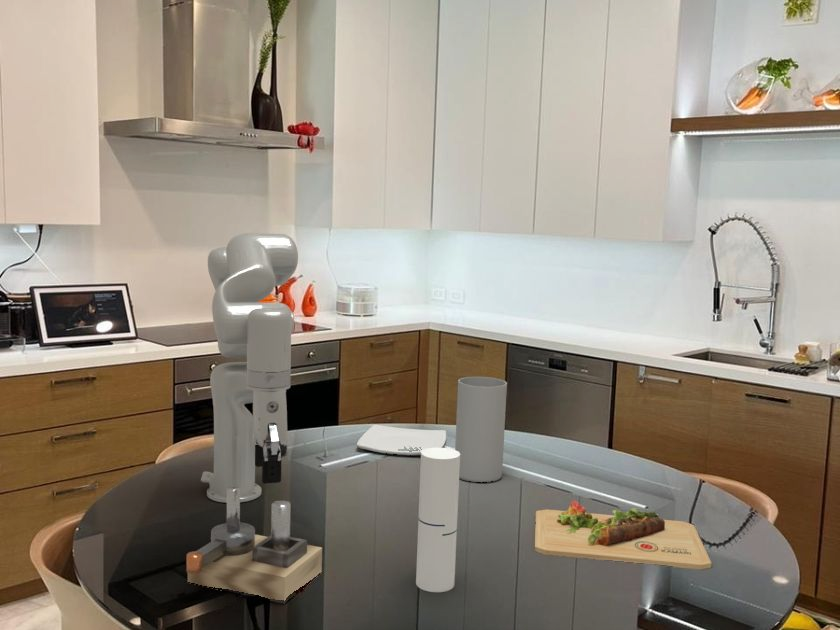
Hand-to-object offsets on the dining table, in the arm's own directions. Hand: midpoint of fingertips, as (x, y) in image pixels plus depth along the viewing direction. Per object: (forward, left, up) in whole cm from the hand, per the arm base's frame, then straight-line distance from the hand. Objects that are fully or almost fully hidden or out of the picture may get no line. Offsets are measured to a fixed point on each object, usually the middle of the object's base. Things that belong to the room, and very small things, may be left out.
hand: (267, 474), depth 150 cm
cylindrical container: (+27, +15, -22) cm, 38 cm away
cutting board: (+55, +52, -22) cm, 79 cm away
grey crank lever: (-9, -2, -16) cm, 19 cm away
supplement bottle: (-40, +71, -22) cm, 84 cm away
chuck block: (-4, +3, -21) cm, 22 cm away
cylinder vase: (+16, +79, -22) cm, 84 cm away
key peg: (+1, +3, -16) cm, 17 cm away
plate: (-12, +96, -22) cm, 99 cm away
